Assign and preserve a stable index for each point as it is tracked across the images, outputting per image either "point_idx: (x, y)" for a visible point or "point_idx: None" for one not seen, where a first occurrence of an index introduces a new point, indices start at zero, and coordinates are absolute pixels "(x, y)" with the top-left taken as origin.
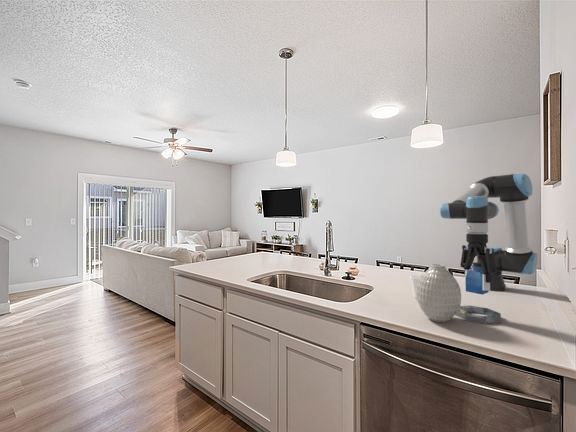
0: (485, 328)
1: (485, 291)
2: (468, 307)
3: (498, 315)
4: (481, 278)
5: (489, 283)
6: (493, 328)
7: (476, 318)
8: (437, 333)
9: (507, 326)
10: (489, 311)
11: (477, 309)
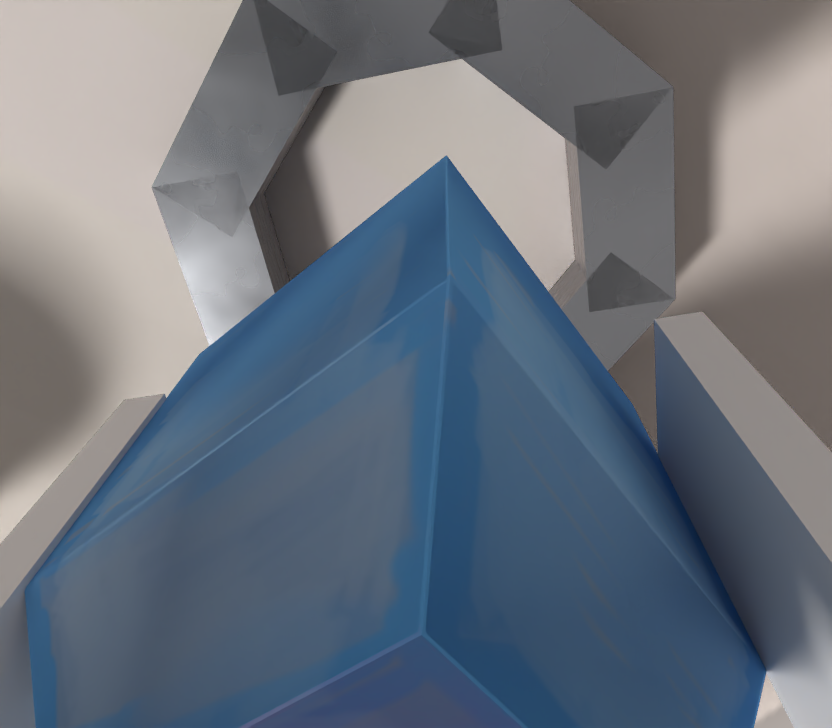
0: (754, 351)
1: (558, 312)
2: (250, 257)
3: (571, 41)
4: (736, 694)
5: (780, 416)
6: (771, 275)
7: (607, 364)
8: (761, 709)
9: (756, 69)
10: (403, 62)
11: (280, 154)
